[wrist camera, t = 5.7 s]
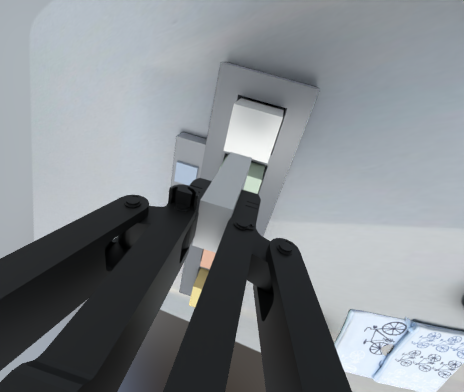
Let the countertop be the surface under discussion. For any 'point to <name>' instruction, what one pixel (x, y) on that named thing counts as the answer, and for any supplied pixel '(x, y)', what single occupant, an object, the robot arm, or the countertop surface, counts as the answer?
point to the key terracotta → (207, 258)
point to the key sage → (253, 177)
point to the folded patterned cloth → (399, 351)
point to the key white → (253, 129)
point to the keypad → (212, 155)
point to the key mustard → (198, 286)
